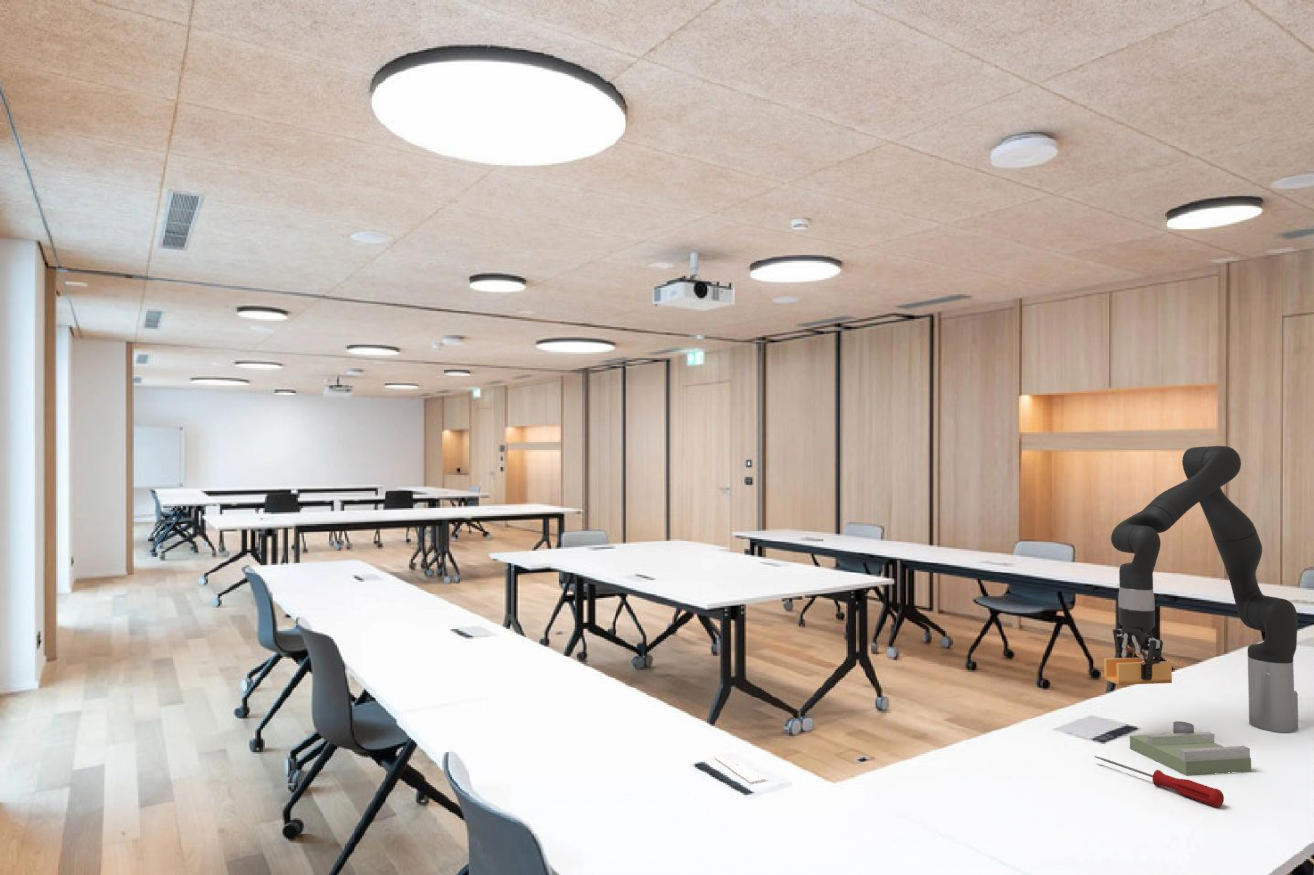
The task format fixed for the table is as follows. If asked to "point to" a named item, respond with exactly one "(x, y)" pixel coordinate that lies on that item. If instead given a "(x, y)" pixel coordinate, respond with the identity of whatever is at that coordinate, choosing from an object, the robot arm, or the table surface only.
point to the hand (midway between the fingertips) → (1137, 676)
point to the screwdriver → (1182, 786)
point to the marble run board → (1170, 758)
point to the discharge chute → (1135, 671)
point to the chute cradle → (1198, 753)
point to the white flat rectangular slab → (742, 771)
